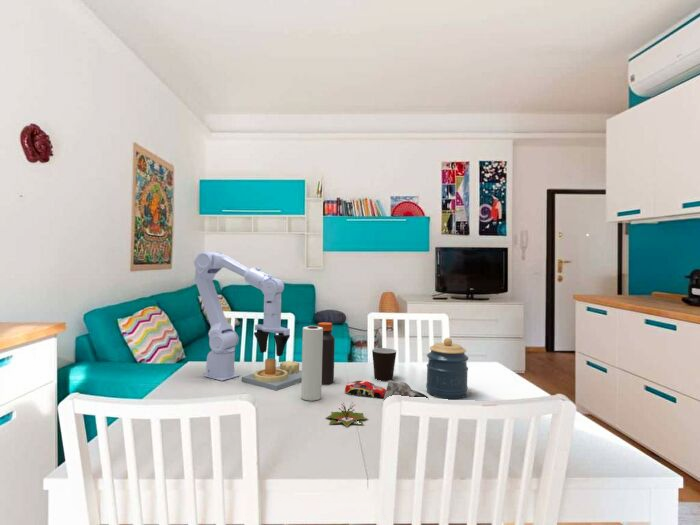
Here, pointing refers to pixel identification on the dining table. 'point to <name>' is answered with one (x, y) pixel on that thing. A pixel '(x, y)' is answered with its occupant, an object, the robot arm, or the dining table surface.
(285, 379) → the carrier plate
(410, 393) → the camouflage cap
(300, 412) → the dining table surface
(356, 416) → the lily flower
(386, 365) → the coffee mug
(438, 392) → the canister
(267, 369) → the planet gear
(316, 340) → the paper towel roll
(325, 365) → the bottle
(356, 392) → the race car
